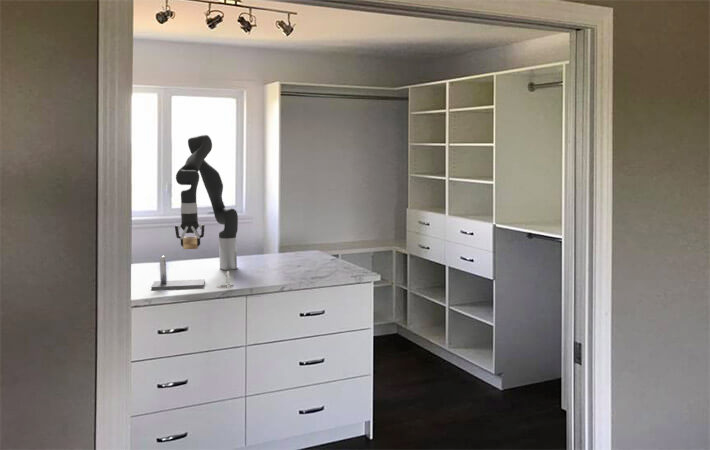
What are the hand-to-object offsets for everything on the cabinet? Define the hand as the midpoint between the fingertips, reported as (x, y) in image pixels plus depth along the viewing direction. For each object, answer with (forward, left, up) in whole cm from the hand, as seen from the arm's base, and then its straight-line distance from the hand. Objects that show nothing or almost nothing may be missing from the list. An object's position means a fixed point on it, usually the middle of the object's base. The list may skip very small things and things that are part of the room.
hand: (190, 246), depth 305 cm
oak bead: (0, 0, -1) cm, 1 cm away
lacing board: (+6, 0, -19) cm, 20 cm away
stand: (-16, +5, -20) cm, 26 cm away
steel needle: (+13, 0, -18) cm, 22 cm away
